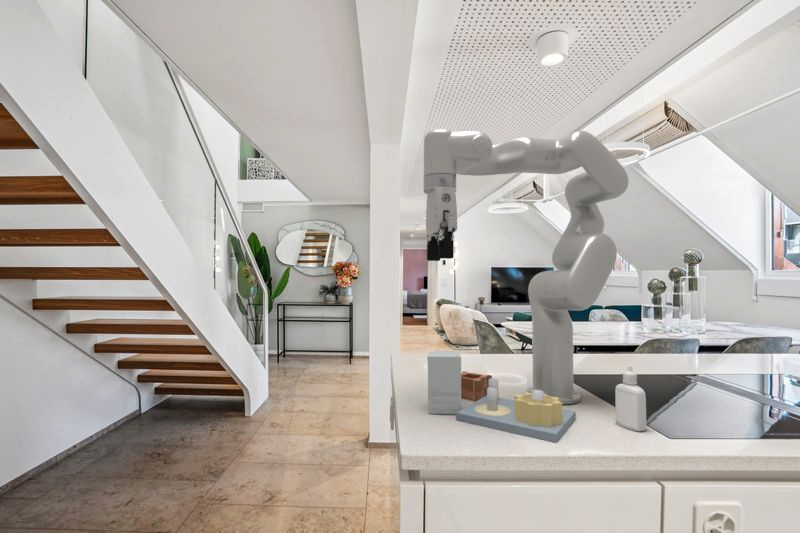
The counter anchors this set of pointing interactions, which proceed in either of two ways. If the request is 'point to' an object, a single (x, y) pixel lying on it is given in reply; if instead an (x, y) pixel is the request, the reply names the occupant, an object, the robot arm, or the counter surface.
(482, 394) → the brown open boxy piece
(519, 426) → the gear board
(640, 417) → the eye dropper bottle
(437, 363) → the supplement box
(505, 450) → the counter surface
